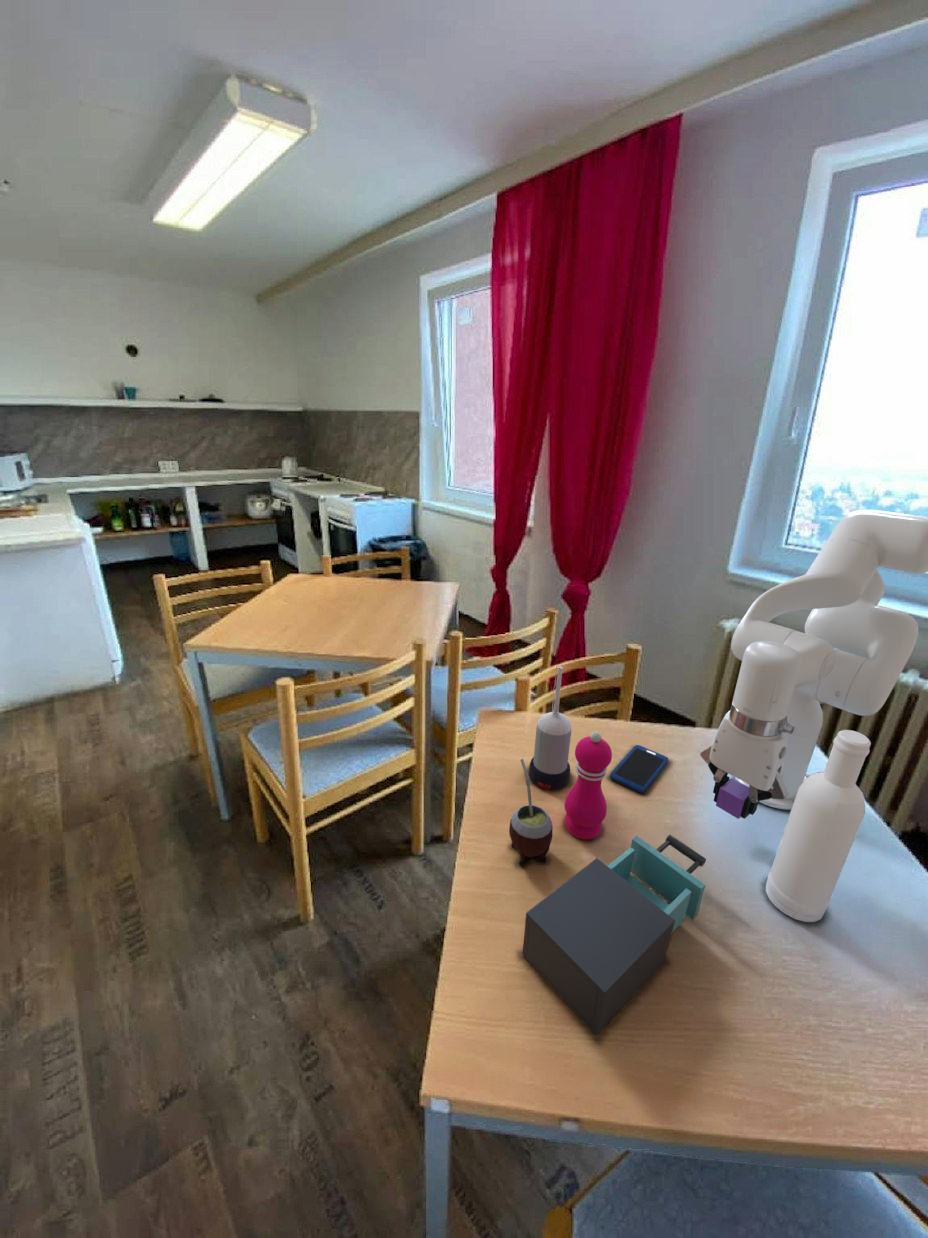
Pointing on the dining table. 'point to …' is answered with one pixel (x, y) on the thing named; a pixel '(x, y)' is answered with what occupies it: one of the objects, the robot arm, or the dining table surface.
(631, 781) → the cell phone
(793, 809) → the bottle
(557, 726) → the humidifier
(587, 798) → the pepper mill
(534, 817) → the mate gourd
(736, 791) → the block
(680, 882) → the drawer
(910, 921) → the dining table surface
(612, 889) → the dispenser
